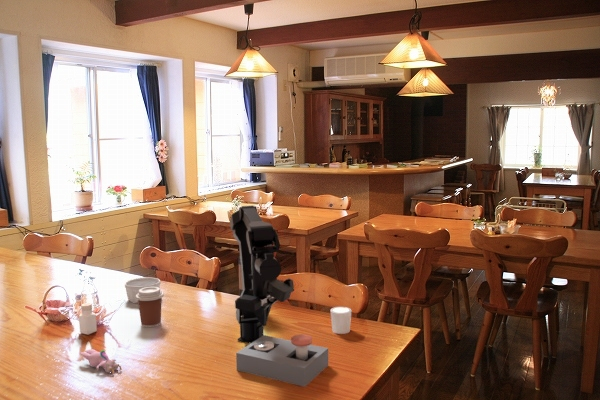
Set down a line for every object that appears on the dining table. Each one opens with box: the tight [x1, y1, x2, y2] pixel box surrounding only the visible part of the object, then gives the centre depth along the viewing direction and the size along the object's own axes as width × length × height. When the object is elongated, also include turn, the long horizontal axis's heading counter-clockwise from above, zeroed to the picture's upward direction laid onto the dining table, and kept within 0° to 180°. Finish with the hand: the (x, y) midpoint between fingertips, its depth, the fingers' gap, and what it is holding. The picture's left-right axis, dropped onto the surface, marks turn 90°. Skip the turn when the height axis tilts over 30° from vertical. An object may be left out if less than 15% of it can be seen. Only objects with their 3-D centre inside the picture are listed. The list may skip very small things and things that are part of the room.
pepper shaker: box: [78, 302, 98, 336], centre depth 178 cm, size 4×4×10 cm
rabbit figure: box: [79, 348, 123, 375], centre depth 152 cm, size 6×6×15 cm
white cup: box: [329, 306, 352, 335], centre depth 176 cm, size 7×7×7 cm
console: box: [235, 334, 329, 388], centre depth 150 cm, size 21×14×5 cm, turn 61°
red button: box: [290, 334, 313, 361], centre depth 147 cm, size 6×6×6 cm
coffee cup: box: [136, 287, 165, 328], centre depth 185 cm, size 9×9×12 cm
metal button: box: [254, 341, 274, 353], centre depth 153 cm, size 6×6×6 cm
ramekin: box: [124, 276, 162, 304], centre depth 212 cm, size 13×13×7 cm
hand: (263, 325), depth 152 cm, fingers closed
